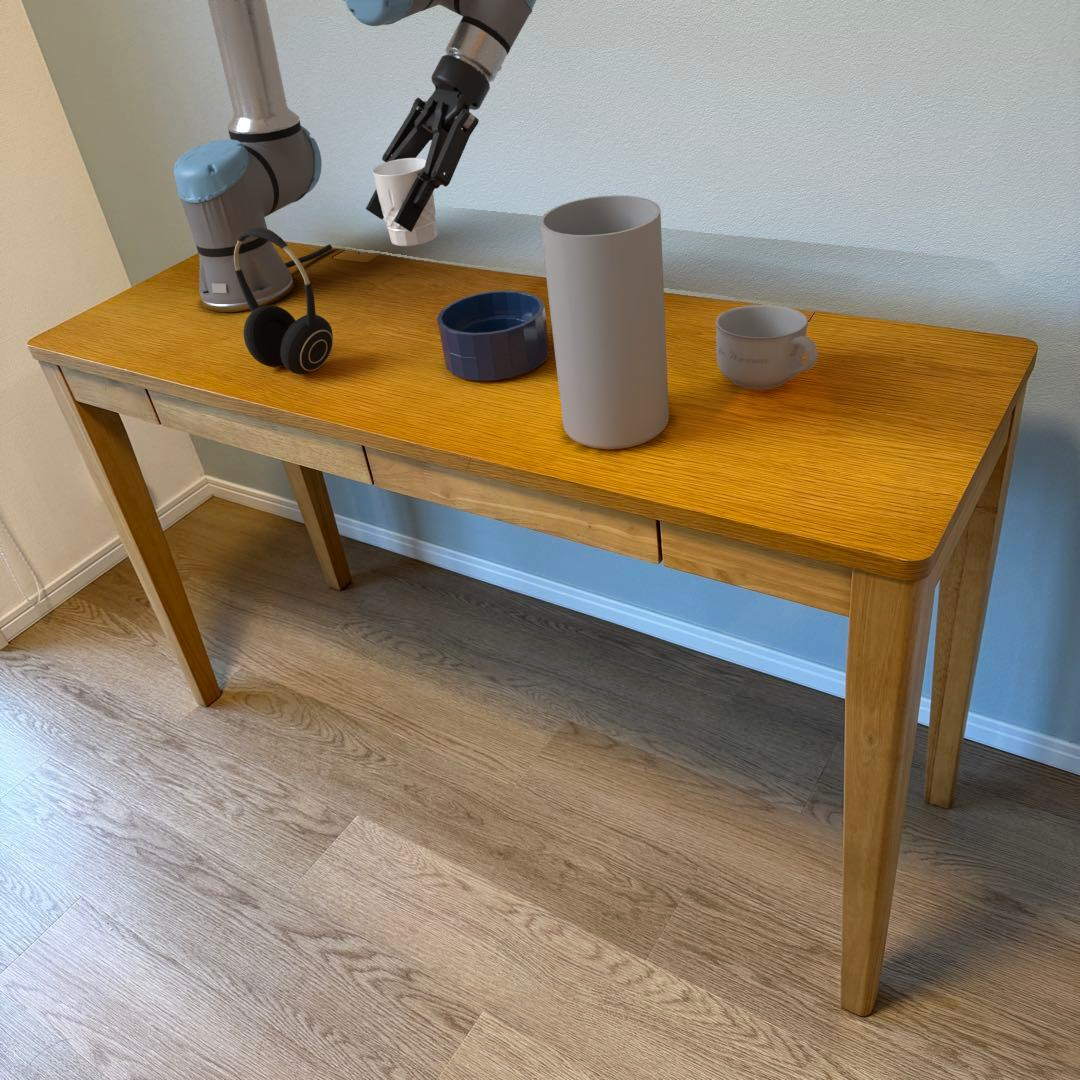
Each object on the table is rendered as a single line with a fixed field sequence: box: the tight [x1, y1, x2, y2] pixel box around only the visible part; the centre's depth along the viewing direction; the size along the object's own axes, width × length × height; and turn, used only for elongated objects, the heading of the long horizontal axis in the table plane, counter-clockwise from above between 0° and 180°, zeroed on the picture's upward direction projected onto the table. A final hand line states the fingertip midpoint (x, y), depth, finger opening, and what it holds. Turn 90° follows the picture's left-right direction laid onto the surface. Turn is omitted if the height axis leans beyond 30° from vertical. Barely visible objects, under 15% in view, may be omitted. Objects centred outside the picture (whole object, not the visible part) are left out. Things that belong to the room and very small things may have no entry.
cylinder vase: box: [539, 194, 670, 450], centre depth 111 cm, size 12×12×25 cm
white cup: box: [371, 157, 439, 247], centre depth 139 cm, size 8×8×10 cm
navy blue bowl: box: [436, 289, 550, 382], centre depth 135 cm, size 14×14×7 cm
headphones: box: [234, 228, 334, 376], centre depth 136 cm, size 9×15×20 cm, turn 54°
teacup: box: [715, 304, 819, 391], centre depth 120 cm, size 14×11×8 cm
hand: (388, 220), depth 138 cm, fingers closed on white cup, 8 cm apart
